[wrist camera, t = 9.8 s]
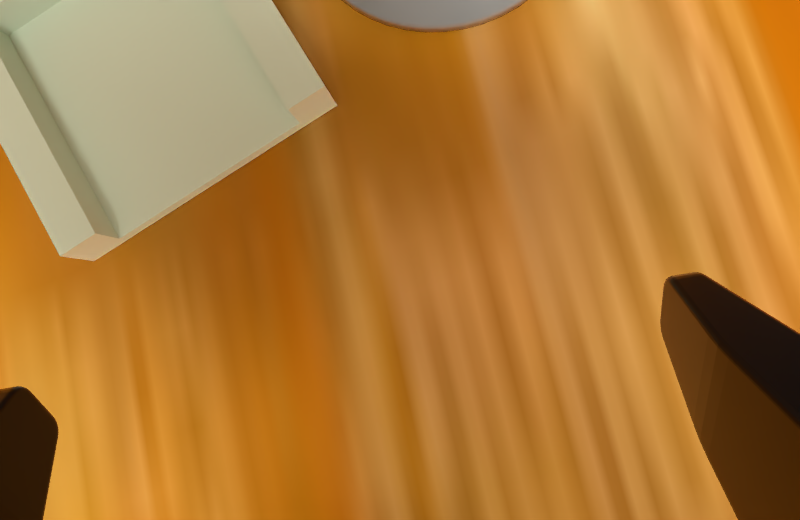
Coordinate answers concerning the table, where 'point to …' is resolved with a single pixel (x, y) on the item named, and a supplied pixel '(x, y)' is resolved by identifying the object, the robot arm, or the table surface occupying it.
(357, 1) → the slate coaster
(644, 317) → the table surface
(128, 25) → the pocket
